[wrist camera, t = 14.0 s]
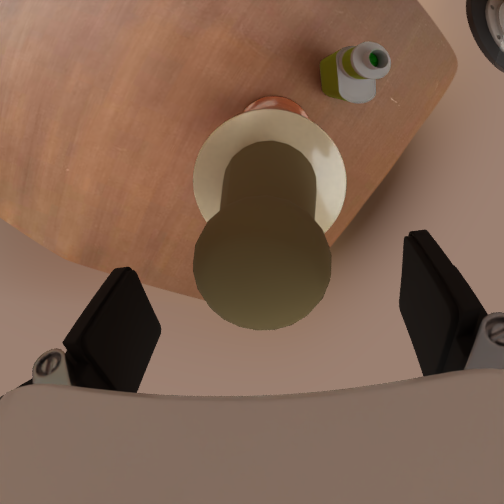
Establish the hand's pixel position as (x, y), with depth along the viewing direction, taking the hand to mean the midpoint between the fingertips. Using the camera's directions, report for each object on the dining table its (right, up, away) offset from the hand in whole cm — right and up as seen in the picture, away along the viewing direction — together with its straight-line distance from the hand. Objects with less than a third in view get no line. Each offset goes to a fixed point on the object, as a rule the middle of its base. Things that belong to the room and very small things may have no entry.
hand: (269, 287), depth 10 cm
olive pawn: (+1, +5, +10) cm, 11 cm away
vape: (+10, +24, +26) cm, 37 cm away
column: (+2, +17, +30) cm, 35 cm away
